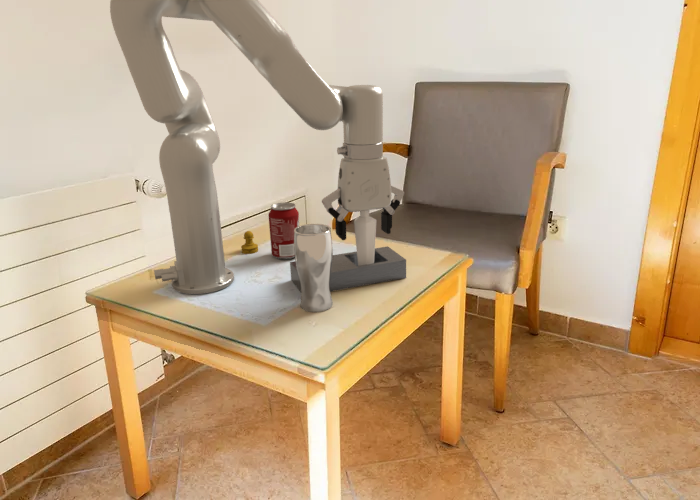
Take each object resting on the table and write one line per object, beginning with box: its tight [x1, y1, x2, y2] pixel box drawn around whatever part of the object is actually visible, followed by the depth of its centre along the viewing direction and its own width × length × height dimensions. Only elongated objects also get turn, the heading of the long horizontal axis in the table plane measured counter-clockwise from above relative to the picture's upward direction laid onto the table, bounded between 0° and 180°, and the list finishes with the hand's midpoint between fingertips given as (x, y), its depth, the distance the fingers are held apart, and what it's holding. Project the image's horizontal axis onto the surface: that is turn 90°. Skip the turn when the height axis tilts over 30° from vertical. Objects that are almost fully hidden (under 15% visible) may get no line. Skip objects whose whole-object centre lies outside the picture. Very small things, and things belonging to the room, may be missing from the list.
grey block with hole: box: [289, 246, 407, 293], centre depth 122 cm, size 22×9×4 cm, turn 111°
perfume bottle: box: [353, 210, 378, 266], centre depth 121 cm, size 5×4×15 cm
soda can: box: [267, 201, 300, 261], centre depth 135 cm, size 7×7×12 cm
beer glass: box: [294, 223, 334, 313], centre depth 109 cm, size 7×7×15 cm
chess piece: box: [240, 230, 259, 255], centre depth 140 cm, size 4×4×5 cm
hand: (364, 235), depth 121 cm, fingers open, 9 cm apart
